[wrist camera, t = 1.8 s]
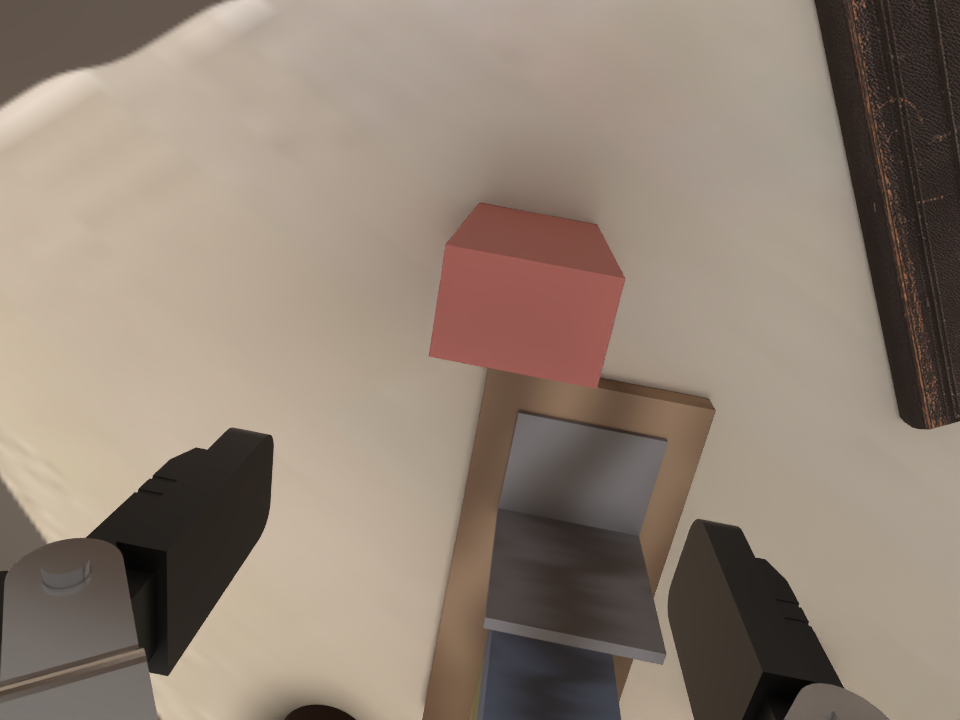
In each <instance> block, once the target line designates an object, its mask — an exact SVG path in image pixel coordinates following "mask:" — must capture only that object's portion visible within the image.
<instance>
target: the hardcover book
mask: <svg viewBox="0 0 960 720" xmlns="http://www.w3.org/2000/svg"><path fill="white" fill-rule="evenodd" d="M815 3H816V8H817V13H818V18H819V23H820V28H821V32H822V37H823V42H824V47H825V52H826V57H827V62H828V67H829V71H830V76H831V81H832V86H833V91H834V96H835V101H836V106H837V110H838V115H839V120H840V125H841V130H842V135H843V140H844V145H845V149H846V154H847V159H848V164H849V169H850V174H851V179H852V184H853V188H854V193H855V198H856V203H857V208H858V213H859V218H860V223H861V227H862V232H863V237H864V242H865V247H866V252H867V257H868V262H869V266H870V271H871V276H872V281H873V286H874V291H875V296H876V301H877V305H878V310H879V315H880V320H881V325H882V330H883V335H884V340H885V344H886V349H887V354H888V359H889V364H890V369H891V374H892V378H893V383H894V388H895V393H896V398H897V403H898V408H899V413H900V417H901V418H902V420H903V421H904V422H905V423H907V424H908V425H910V426H911V427H913V428H917V429H933V428H936V427H940V426H944V425H947V424H951V423H955V422H958V421H960V0H815Z"/></svg>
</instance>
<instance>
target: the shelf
mask: <svg viewBox="0 0 960 720" xmlns="http://www.w3.org/2000/svg"><path fill="white" fill-rule="evenodd" d="M715 411H716V410H715V408H714V407H713V405H712V403H711V402H710V400H709V399H706V398H701V397H696V396H691V395H686V394H680V393H675V392H670V391H665V390H660V389H654V388H649V387H644V386H639V385H634V384H628V383H623V382H618V381H613V380H608V379H603V378H600V379H599V383H598V387H597V389H595V388H590V387H585V386H580V385H574V384H569V383H564V382H559V381H554V380H549V379H543V378H538V377H533V376H528V375H523V374H517V373H512V372H507V371H502V370H497V369H492V368H488V374H487V379H486V384H485V390H484V395H483V400H482V405H481V411H480V416H479V421H478V427H477V432H476V437H475V443H474V448H473V453H472V459H471V464H470V469H469V475H468V480H467V485H466V490H465V496H464V501H463V506H462V512H461V517H460V522H459V528H458V533H457V538H456V544H455V549H454V554H453V560H452V565H451V570H450V575H449V581H448V586H447V591H446V597H445V602H444V607H443V613H442V618H441V623H440V629H439V634H438V639H437V644H436V650H435V655H434V660H433V666H432V671H431V676H430V682H429V687H428V692H427V698H426V703H425V708H424V714H423V719H422V720H621V716H620V708H619V700H620V697H621V694H622V691H623V688H624V685H625V682H626V679H627V676H628V673H629V670H630V667H631V664H632V661H633V659H637V660H642V661H647V662H652V663H657V664H661V665H663V662H664V659H665V657H666V651H665V647H664V642H663V638H662V634H661V629H660V625H659V621H658V616H657V612H656V608H655V603H654V599H653V598H654V595H655V592H656V589H657V586H658V583H659V580H660V577H661V574H662V571H663V568H664V565H665V562H666V559H667V556H668V553H669V550H670V547H671V544H672V541H673V538H674V535H675V532H676V529H677V526H678V523H679V520H680V517H681V514H682V511H683V508H684V505H685V501H686V498H687V495H688V492H689V489H690V486H691V483H692V480H693V477H694V474H695V471H696V468H697V465H698V462H699V459H700V456H701V453H702V450H703V447H704V444H705V441H706V438H707V435H708V432H709V429H710V426H711V423H712V420H713V417H714V414H715Z"/></svg>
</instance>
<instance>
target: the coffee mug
mask: <svg viewBox="0 0 960 720" xmlns="http://www.w3.org/2000/svg"><path fill="white" fill-rule="evenodd" d="M285 720H355V719H354V718H353V717H351V716H350V715H349V714H347V713H345V712H343V711H341V710H339V709H336V708H333V707H329V706H324V705H309V706H304V707H300V708H298V709H296V710H294V711H292V712H291V713H290V714H289V715H287V717H286V718H285Z"/></svg>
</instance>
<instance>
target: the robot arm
mask: <svg viewBox="0 0 960 720" xmlns="http://www.w3.org/2000/svg"><path fill="white" fill-rule="evenodd" d="M273 449H274V443H273V438H272V436H271V435H268V434H263V433H258V432H253V431H248V430H243V429H237V428H229V429H228V430H227V431H226V432H225V433H224V434H223V435H222V436H221V437H220V438H219V439H218V440H217V441H216V442H215V443H214V444H213V445H212V446H211V447H210V448H209V449H208V450H206V449H201V448H194V449H192V450H190V451H188V452H185V453H183V454H181V455H179V456H177V457H174V458H172V459H170V460H169V461H168V462H167V463H166V464H165V465H164V466H163V467H162V468H160V469H159V470H158V471H157V472H156V473H155V474H154V475H153V478H152V479H149V480H147V481H146V482H145V483H144V484H143V485H142V486H141V487H140V488H139V489H138V492H137V493H136V492H135V493H133V494H132V495H131V496H130V497H129V498H128V499H127V500H126V501H125V502H124V503H123V504H122V505H121V506H119V507H118V508H117V509H116V510H115V511H114V512H113V513H112V514H111V515H110V516H109V517H108V518H107V519H105V520H104V521H103V522H102V523H101V524H100V525H99V526H98V527H97V528H96V529H95V530H94V531H93V532H91V533H90V534H89V535H88V536H87V537H86V538H73V539H66V540H61V541H56V542H53V543H50V544H46V545H44V546H42V547H39V548H37V549H35V550H33V551H31V552H29V553H27V554H26V555H24V556H23V557H21V558H20V559H19V560H18V561H17V562H16V563H14V564H13V566H12V567H11V568H10V569H9V571H0V720H158V718H157V713H156V707H155V702H154V696H153V691H152V685H151V680H150V675H149V672H150V673H155V674H160V675H165V676H168V675H169V674H170V672H171V671H172V669H173V668H174V666H175V665H176V663H177V662H178V660H179V659H180V657H181V656H182V654H183V653H184V651H185V650H186V648H187V647H188V645H189V644H190V642H191V641H192V639H193V638H194V636H195V635H196V633H197V632H198V630H199V629H200V627H201V626H202V624H203V623H204V621H205V620H206V618H207V617H208V615H209V614H210V612H211V611H212V609H213V608H214V606H215V605H216V603H217V602H218V600H219V599H220V597H221V596H222V594H223V593H224V591H225V590H226V588H227V587H228V585H229V584H230V582H231V581H232V579H233V578H234V576H235V575H236V573H237V572H238V570H239V569H240V567H241V566H242V564H243V563H244V561H245V560H246V558H247V556H248V555H249V553H250V552H251V550H252V549H253V547H254V546H255V544H256V543H257V541H258V540H259V538H260V537H261V535H262V533H263V530H264V528H265V525H266V522H267V519H268V515H269V510H270V500H271V483H272V466H273ZM668 618H669V623H670V627H671V630H672V634H673V638H674V642H675V646H676V650H677V654H678V658H679V662H680V666H681V670H682V673H683V677H684V681H685V685H686V689H687V693H688V697H689V701H690V705H691V709H692V713H693V716H694V720H889V719H888V718H887V717H886V716H885V715H884V714H883V713H882V712H881V711H880V710H879V709H877V708H876V707H875V706H874V705H872V704H871V703H870V702H868V701H867V700H865V699H864V698H862V697H860V696H858V695H857V694H855V693H853V692H851V691H848V690H846V689H844V687H843V685H842V683H841V681H840V680H839V678H838V676H837V674H836V672H835V670H834V668H833V666H832V665H831V663H830V661H829V659H828V657H827V655H826V653H825V651H824V649H823V648H822V646H821V644H820V642H819V640H818V638H817V636H816V634H815V633H814V631H813V629H812V627H810V626H809V625H808V623H809V621H808V619H807V618H806V616H805V614H804V612H803V610H802V608H800V607H799V602H798V601H797V599H796V597H795V595H794V593H793V591H792V589H791V587H790V586H789V584H788V582H787V580H786V579H785V578H784V577H783V576H782V575H781V574H780V573H779V572H778V571H777V570H776V569H774V568H773V567H772V566H771V565H770V564H769V563H768V562H767V561H766V560H765V559H760V558H755V556H754V554H753V552H752V550H751V548H750V546H749V544H748V542H747V540H746V538H745V536H744V534H743V532H742V530H741V529H740V528H739V527H738V526H733V525H728V524H722V523H717V522H712V521H707V520H702V519H697V520H695V521H694V522H693V524H692V526H691V528H690V530H689V533H688V536H687V539H686V542H685V545H684V548H683V551H682V554H681V556H680V559H679V562H678V565H677V568H676V571H675V574H674V577H673V580H672V583H671V586H670V590H669V596H668Z"/></svg>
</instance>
